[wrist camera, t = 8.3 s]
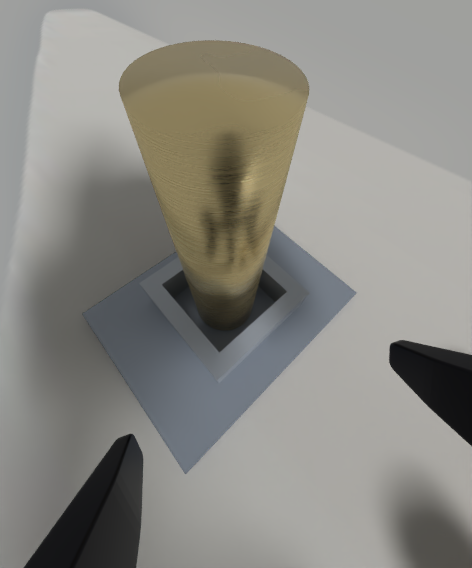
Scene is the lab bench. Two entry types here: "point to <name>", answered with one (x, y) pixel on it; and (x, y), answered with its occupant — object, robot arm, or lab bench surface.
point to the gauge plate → (212, 343)
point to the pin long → (217, 159)
